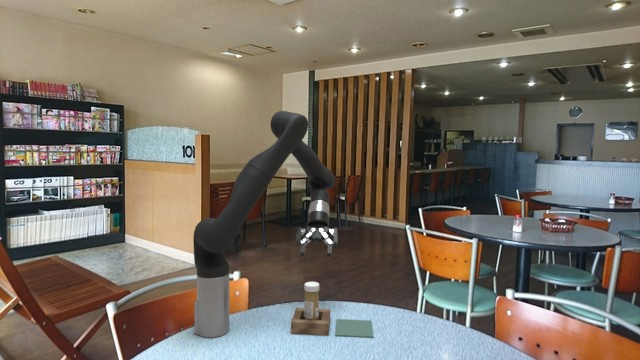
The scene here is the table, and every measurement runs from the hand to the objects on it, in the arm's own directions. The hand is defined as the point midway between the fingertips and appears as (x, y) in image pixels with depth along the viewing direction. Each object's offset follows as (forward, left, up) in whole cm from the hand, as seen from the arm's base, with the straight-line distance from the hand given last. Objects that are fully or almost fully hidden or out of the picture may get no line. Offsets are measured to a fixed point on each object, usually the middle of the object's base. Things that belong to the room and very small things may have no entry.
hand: (315, 255), depth 130 cm
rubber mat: (+13, -12, -19) cm, 26 cm away
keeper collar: (0, -12, -19) cm, 22 cm away
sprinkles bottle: (0, -12, -19) cm, 23 cm away
